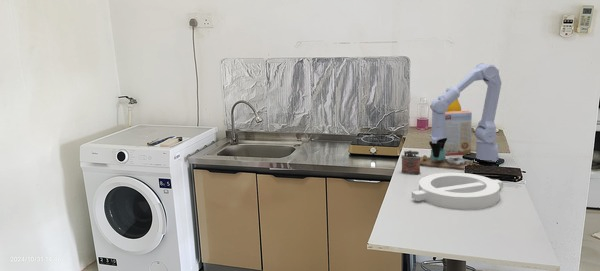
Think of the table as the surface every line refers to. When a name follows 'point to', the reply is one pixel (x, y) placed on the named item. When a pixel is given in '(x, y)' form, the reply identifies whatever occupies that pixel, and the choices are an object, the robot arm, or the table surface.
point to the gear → (441, 155)
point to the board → (445, 163)
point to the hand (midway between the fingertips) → (438, 155)
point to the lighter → (410, 163)
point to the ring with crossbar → (458, 190)
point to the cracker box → (458, 132)
